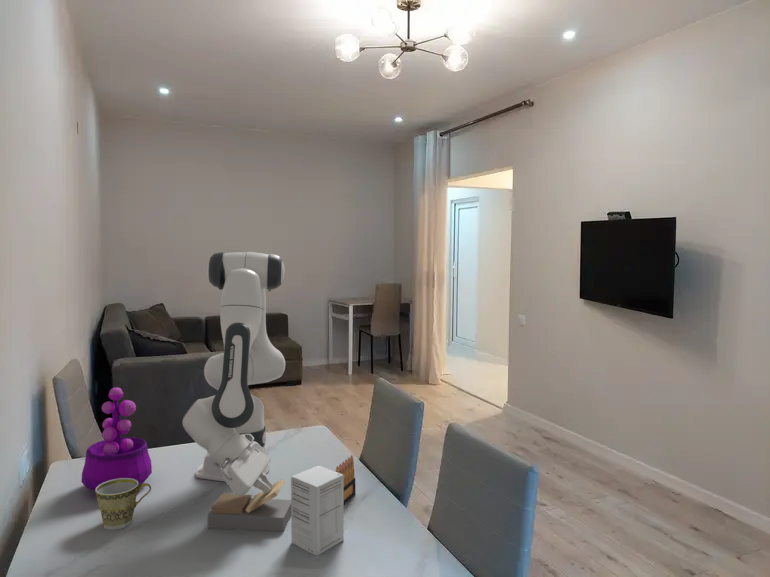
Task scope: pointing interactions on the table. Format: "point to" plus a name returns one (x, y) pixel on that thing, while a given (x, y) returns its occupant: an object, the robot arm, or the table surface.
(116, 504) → the ceramic cup
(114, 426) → the decorative plant
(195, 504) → the table surface
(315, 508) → the supplement box
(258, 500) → the oak plank
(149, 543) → the table surface
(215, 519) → the floor base
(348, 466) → the ammunition clip
